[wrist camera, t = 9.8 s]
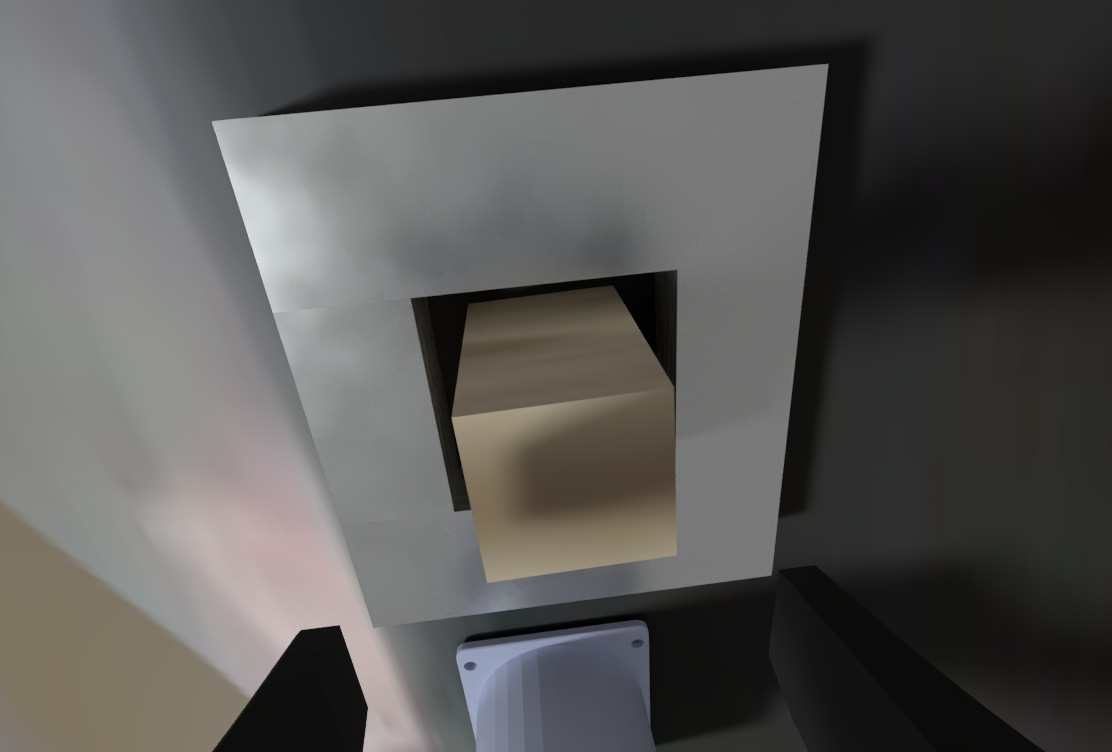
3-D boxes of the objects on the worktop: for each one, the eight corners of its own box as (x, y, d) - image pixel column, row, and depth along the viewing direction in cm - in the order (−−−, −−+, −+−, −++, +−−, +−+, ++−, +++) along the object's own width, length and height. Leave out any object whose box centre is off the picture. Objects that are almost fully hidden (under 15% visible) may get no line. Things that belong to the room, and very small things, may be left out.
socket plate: (744, 528, 23) (771, 575, 20) (386, 573, 22) (373, 627, 20) (781, 68, 16) (828, 63, 13) (254, 117, 15) (211, 121, 13)
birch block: (620, 410, 20) (676, 555, 14) (491, 428, 20) (487, 582, 13) (612, 284, 18) (674, 387, 12) (468, 303, 18) (451, 417, 11)
